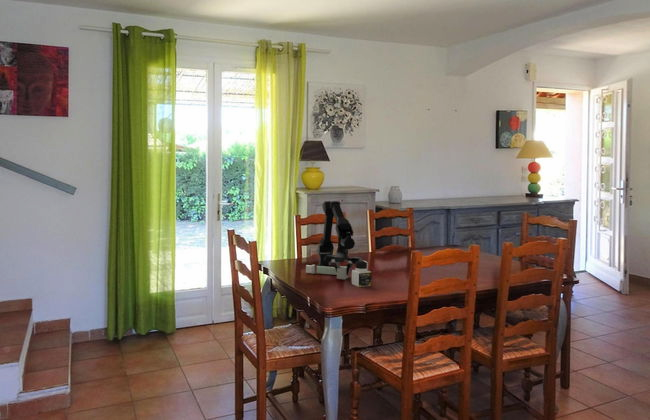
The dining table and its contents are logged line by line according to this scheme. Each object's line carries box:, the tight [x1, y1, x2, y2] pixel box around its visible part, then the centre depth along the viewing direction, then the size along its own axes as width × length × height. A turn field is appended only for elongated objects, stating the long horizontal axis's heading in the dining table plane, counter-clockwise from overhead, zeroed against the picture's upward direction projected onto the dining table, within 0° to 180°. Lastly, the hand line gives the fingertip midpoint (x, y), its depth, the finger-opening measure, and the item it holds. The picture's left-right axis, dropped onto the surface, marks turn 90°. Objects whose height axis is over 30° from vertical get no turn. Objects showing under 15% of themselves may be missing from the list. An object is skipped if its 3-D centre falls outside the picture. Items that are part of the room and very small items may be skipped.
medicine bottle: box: [351, 260, 372, 288], centre depth 265 cm, size 7×7×12 cm
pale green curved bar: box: [316, 265, 337, 276], centre depth 288 cm, size 12×2×4 cm, turn 72°
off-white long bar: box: [305, 264, 316, 275], centre depth 289 cm, size 2×22×4 cm, turn 72°
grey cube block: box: [336, 265, 349, 280], centre depth 281 cm, size 6×5×6 cm
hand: (342, 275), depth 281 cm, fingers closed on grey cube block, 5 cm apart
